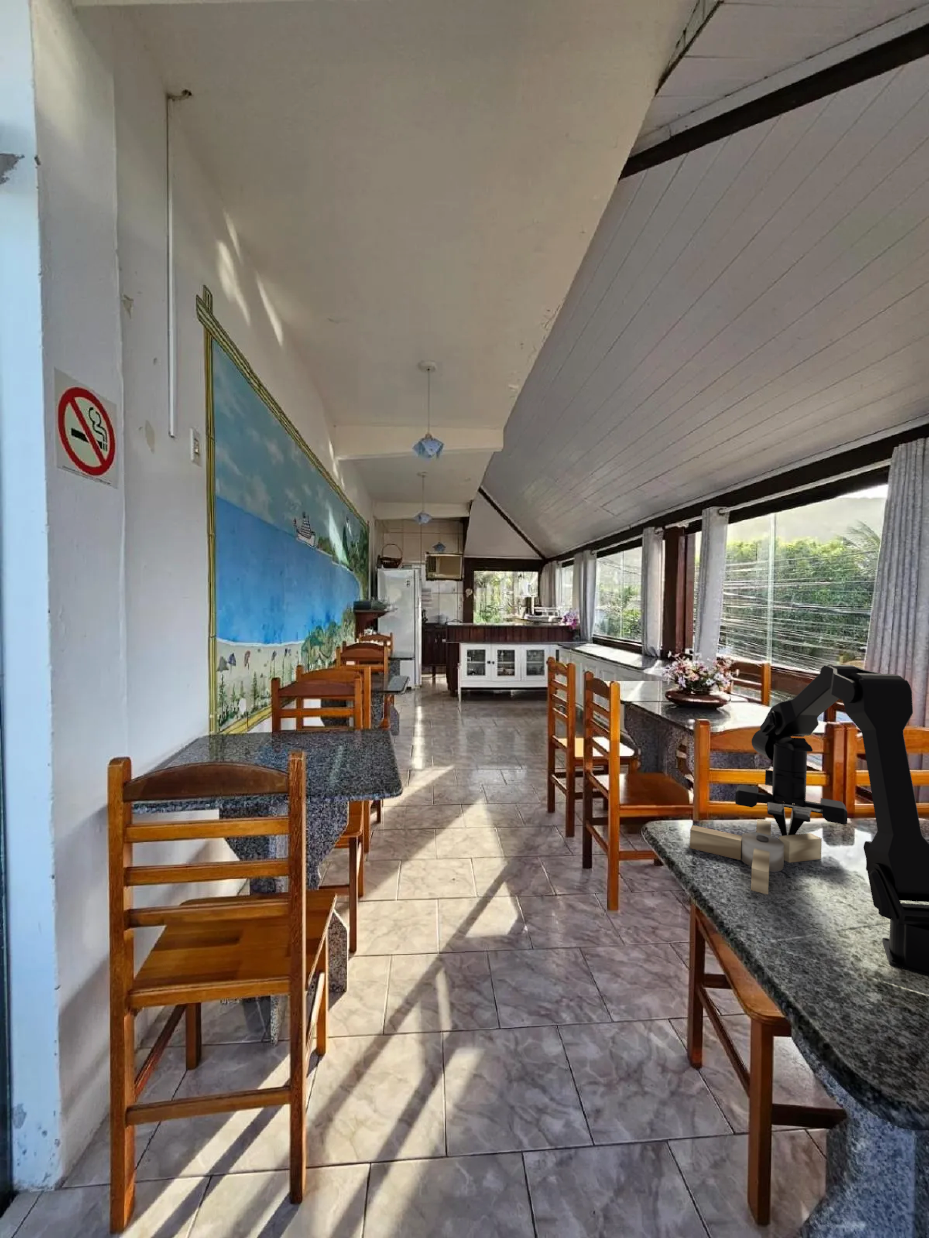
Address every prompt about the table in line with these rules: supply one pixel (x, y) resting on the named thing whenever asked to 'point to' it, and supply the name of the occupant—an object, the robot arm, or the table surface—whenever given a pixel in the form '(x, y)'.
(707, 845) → the stool base
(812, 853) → the folding leg
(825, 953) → the table surface
